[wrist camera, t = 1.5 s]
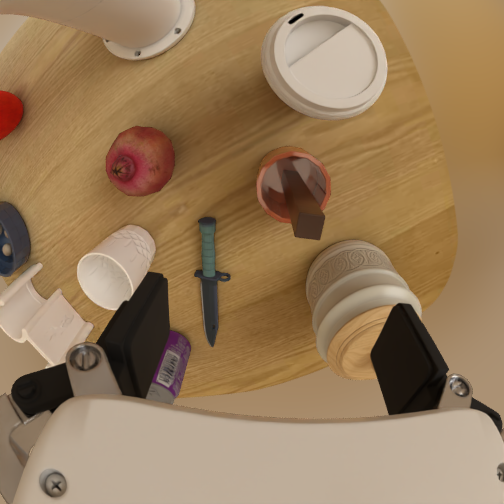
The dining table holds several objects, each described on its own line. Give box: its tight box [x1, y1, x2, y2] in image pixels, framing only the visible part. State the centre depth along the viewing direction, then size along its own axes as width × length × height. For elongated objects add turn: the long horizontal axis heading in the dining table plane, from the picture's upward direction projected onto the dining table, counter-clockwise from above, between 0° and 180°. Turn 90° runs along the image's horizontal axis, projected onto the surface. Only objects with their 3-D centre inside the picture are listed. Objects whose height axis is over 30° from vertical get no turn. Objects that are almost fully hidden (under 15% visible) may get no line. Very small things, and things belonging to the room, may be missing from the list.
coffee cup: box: [261, 6, 387, 120], centre depth 21 cm, size 10×10×15 cm
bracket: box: [0, 263, 94, 369], centre depth 41 cm, size 25×10×12 cm, turn 30°
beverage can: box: [146, 330, 191, 404], centre depth 41 cm, size 7×7×12 cm
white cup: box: [77, 225, 156, 310], centre depth 34 cm, size 8×8×10 cm
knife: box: [194, 217, 230, 348], centre depth 41 cm, size 23×2×5 cm
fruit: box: [106, 126, 175, 196], centre depth 28 cm, size 8×8×10 cm
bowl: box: [0, 201, 30, 277], centre depth 36 cm, size 13×13×5 cm
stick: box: [281, 170, 325, 240], centre depth 26 cm, size 2×2×16 cm
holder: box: [256, 146, 331, 224], centre depth 31 cm, size 8×8×6 cm
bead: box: [2, 243, 13, 256], centre depth 38 cm, size 2×2×2 cm
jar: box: [306, 240, 423, 380], centre depth 32 cm, size 13×13×18 cm
